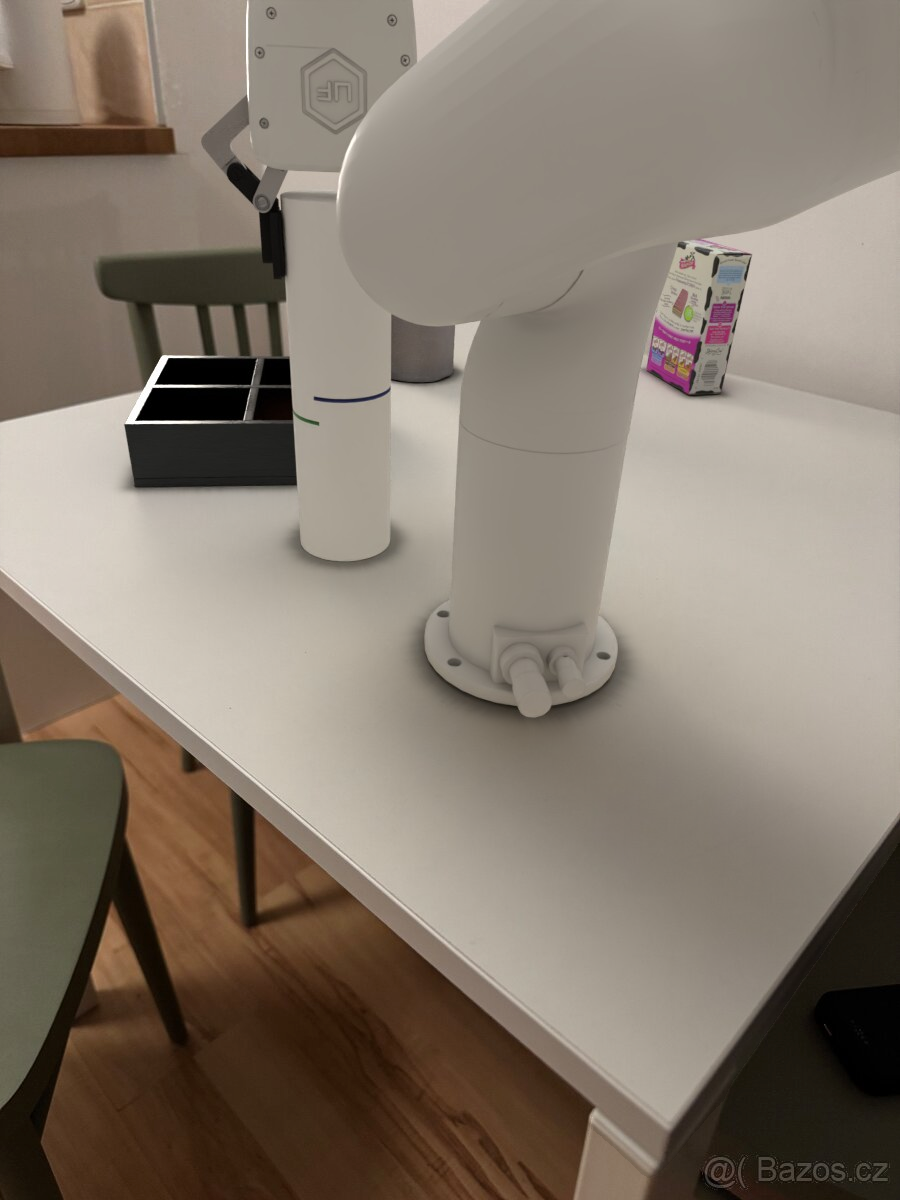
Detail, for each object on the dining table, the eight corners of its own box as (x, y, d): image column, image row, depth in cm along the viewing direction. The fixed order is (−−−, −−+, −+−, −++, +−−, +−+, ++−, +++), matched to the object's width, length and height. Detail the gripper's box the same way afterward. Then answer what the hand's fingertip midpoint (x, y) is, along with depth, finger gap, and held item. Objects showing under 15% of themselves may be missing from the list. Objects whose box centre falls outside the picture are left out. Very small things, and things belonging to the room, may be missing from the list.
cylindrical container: (376, 566, 64) (374, 207, 51) (287, 554, 65) (262, 198, 52) (399, 525, 70) (403, 194, 57) (317, 514, 71) (303, 187, 58)
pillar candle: (373, 360, 110) (372, 237, 102) (446, 360, 111) (451, 238, 103) (381, 384, 101) (381, 251, 94) (460, 382, 103) (467, 252, 95)
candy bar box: (724, 394, 104) (755, 253, 95) (688, 396, 102) (717, 253, 94) (677, 368, 113) (702, 236, 104) (644, 369, 111) (666, 236, 103)
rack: (366, 483, 77) (366, 422, 74) (134, 487, 74) (123, 424, 71) (358, 408, 94) (357, 356, 91) (169, 409, 91) (162, 355, 88)
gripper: (159, -76, 43) (199, 286, 52) (492, -52, 45) (473, 290, 55) (179, -57, 49) (212, 263, 59) (471, -37, 52) (458, 268, 61)
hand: (338, 274), depth 57 cm, fingers closed on cylindrical container, 7 cm apart
